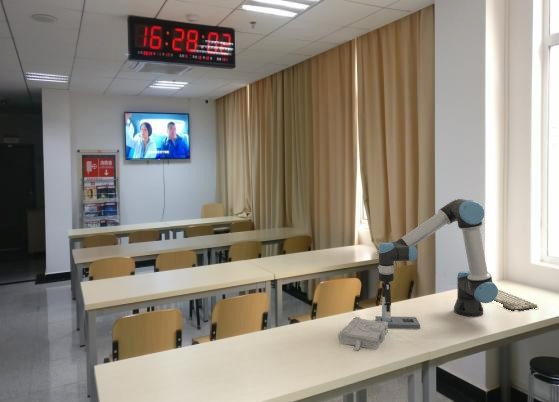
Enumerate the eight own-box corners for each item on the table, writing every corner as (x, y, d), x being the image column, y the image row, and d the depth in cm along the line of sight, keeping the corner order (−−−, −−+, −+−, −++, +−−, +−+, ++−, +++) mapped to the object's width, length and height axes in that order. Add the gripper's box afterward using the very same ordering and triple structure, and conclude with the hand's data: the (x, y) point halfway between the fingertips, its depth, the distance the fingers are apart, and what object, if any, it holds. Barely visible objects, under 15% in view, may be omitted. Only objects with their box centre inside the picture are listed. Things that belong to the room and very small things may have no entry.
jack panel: (415, 321, 238) (415, 316, 237) (420, 329, 226) (420, 324, 226) (375, 320, 240) (375, 316, 240) (377, 328, 228) (377, 323, 228)
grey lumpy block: (334, 348, 206) (334, 331, 205) (352, 328, 231) (352, 313, 230) (375, 355, 197) (376, 339, 197) (390, 334, 222) (390, 319, 222)
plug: (389, 322, 235) (389, 302, 235) (390, 325, 231) (390, 304, 231) (382, 322, 236) (381, 302, 235) (382, 325, 232) (382, 304, 231)
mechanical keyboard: (471, 294, 287) (471, 289, 287) (497, 292, 290) (498, 287, 290) (512, 313, 250) (512, 307, 250) (542, 310, 253) (542, 305, 253)
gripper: (376, 267, 244) (376, 305, 246) (381, 278, 220) (381, 321, 221) (390, 267, 244) (390, 305, 245) (396, 278, 219) (397, 321, 220)
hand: (386, 313), depth 233 cm, fingers open, 13 cm apart
